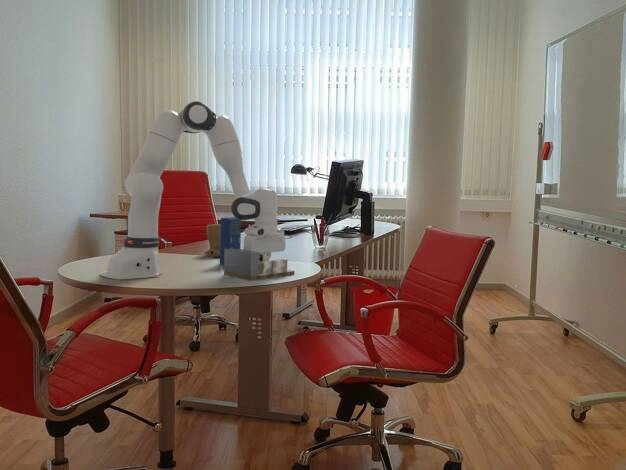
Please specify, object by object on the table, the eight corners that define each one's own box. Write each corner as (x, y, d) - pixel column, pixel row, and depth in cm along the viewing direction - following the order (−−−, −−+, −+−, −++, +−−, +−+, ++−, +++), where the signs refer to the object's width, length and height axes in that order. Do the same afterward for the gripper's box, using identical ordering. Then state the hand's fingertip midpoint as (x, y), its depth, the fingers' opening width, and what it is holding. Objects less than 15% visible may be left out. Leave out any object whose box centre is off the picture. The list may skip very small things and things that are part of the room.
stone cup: (213, 252, 313) (213, 221, 311) (235, 254, 309) (236, 223, 307) (197, 256, 298) (198, 223, 297) (220, 258, 294) (221, 225, 293)
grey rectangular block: (250, 277, 242) (251, 253, 241) (223, 271, 252) (224, 248, 251) (258, 275, 245) (258, 252, 244) (231, 270, 255) (232, 247, 254)
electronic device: (228, 265, 276) (229, 218, 273) (218, 264, 278) (219, 217, 276) (241, 263, 284) (242, 217, 282) (231, 261, 286) (232, 216, 284)
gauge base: (250, 280, 242) (250, 263, 241) (223, 275, 252) (224, 258, 251) (294, 274, 260) (294, 258, 259) (268, 269, 270) (268, 253, 269)
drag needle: (261, 261, 246) (262, 255, 246) (259, 261, 247) (259, 254, 246) (262, 261, 246) (263, 255, 246) (260, 260, 247) (260, 254, 247)
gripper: (278, 227, 266) (277, 260, 268) (241, 229, 251) (240, 265, 253) (289, 228, 262) (288, 262, 264) (252, 231, 247) (251, 267, 248)
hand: (264, 263), depth 258 cm, fingers closed
